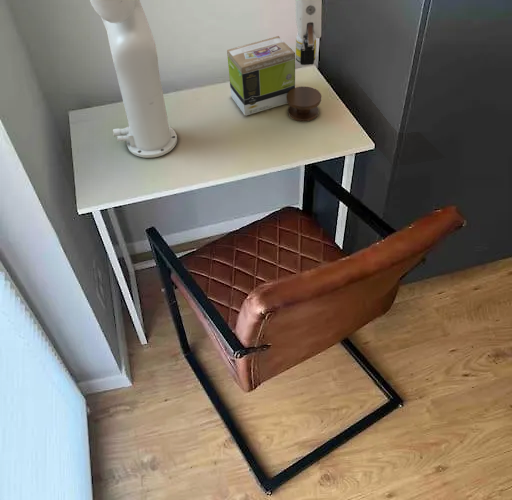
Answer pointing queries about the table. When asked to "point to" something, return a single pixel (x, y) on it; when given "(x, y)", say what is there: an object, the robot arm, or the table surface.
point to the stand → (303, 103)
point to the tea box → (261, 74)
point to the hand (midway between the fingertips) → (305, 57)
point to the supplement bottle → (299, 47)
